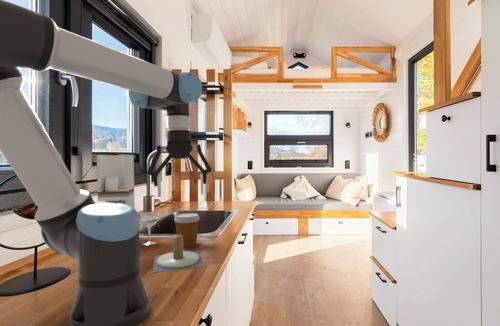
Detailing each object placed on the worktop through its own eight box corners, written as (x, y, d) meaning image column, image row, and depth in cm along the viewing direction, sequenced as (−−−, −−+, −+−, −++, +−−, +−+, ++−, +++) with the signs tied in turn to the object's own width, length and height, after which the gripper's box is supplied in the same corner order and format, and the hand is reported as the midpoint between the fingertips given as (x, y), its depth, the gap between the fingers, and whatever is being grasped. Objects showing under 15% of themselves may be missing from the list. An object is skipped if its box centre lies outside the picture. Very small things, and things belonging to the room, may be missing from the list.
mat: (152, 274, 82) (152, 272, 82) (154, 257, 97) (154, 255, 97) (205, 268, 86) (205, 266, 86) (199, 252, 101) (199, 251, 101)
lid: (156, 271, 83) (155, 243, 83) (157, 256, 96) (157, 232, 96) (201, 265, 87) (200, 239, 87) (196, 252, 100) (196, 229, 99)
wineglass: (143, 241, 115) (142, 211, 115) (160, 241, 116) (159, 211, 115) (137, 246, 109) (136, 215, 108) (155, 246, 109) (155, 214, 109)
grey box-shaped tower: (108, 240, 118) (105, 155, 117) (135, 238, 120) (133, 155, 119) (99, 248, 107) (96, 155, 106) (129, 246, 109) (127, 154, 108)
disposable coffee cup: (194, 251, 102) (193, 218, 102) (169, 250, 104) (169, 217, 104) (203, 243, 112) (203, 212, 111) (181, 242, 114) (180, 212, 113)
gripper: (216, 130, 99) (218, 191, 100) (140, 131, 94) (143, 195, 95) (218, 128, 92) (220, 194, 93) (135, 129, 87) (139, 199, 88)
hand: (181, 195), depth 94 cm, fingers open, 13 cm apart
